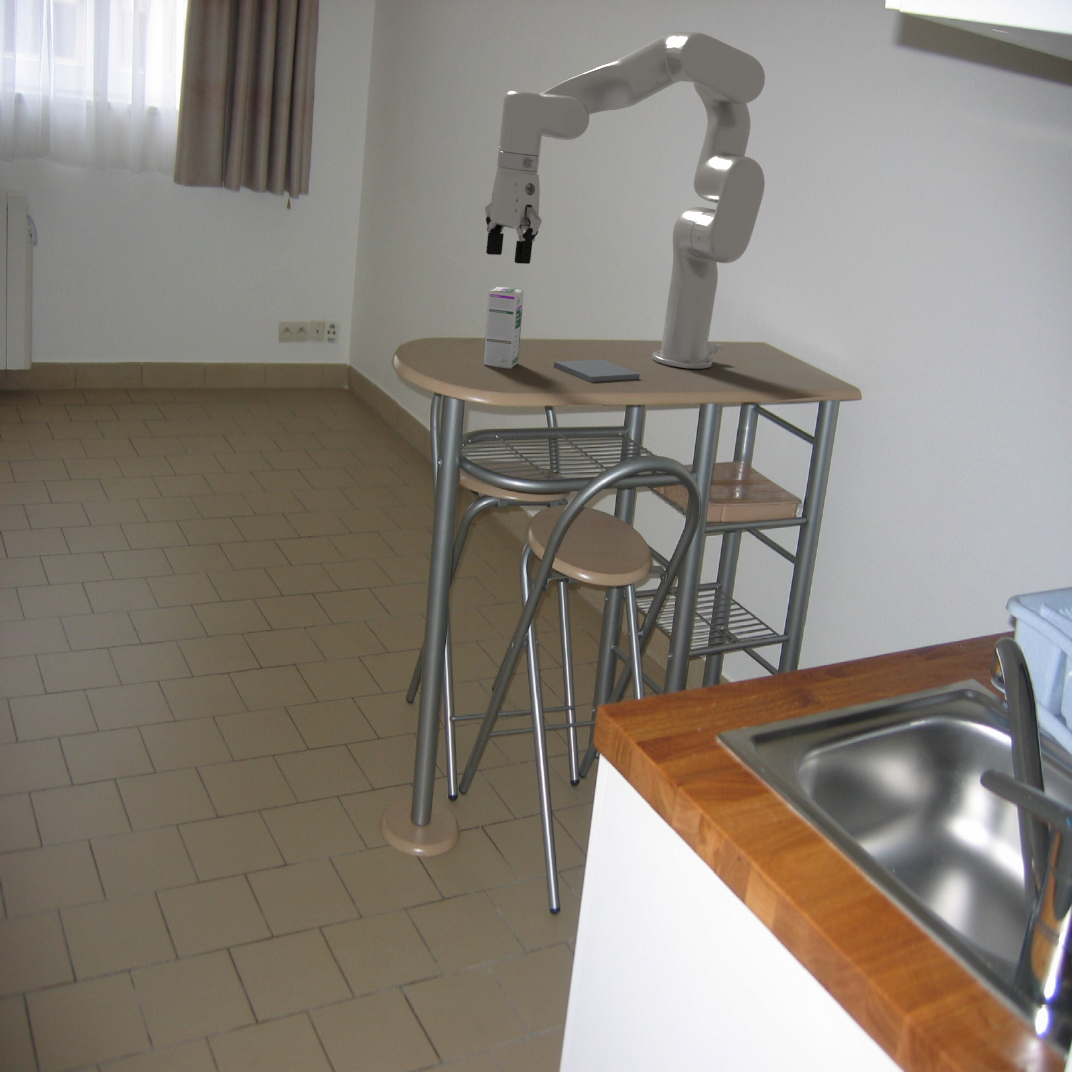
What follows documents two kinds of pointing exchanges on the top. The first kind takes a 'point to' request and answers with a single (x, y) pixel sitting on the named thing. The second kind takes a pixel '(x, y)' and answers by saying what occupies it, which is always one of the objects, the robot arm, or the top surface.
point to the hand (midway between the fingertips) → (507, 258)
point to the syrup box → (503, 327)
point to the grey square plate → (596, 370)
